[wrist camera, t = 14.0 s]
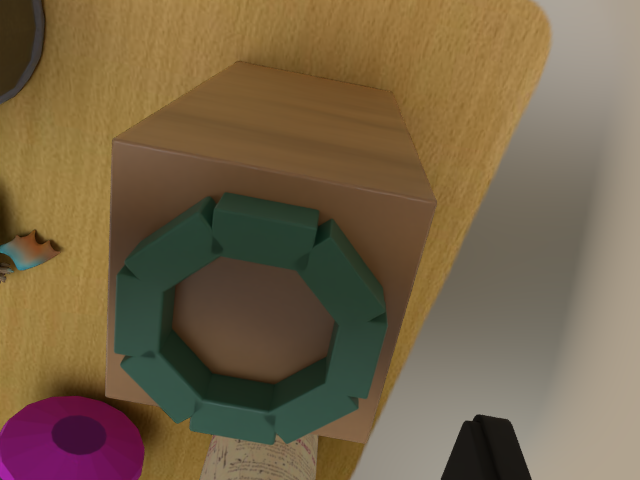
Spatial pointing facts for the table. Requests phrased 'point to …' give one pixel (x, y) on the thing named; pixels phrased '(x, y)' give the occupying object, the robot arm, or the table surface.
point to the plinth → (280, 186)
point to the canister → (19, 43)
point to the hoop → (263, 248)
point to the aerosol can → (261, 459)
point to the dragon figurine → (25, 253)
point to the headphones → (70, 442)
